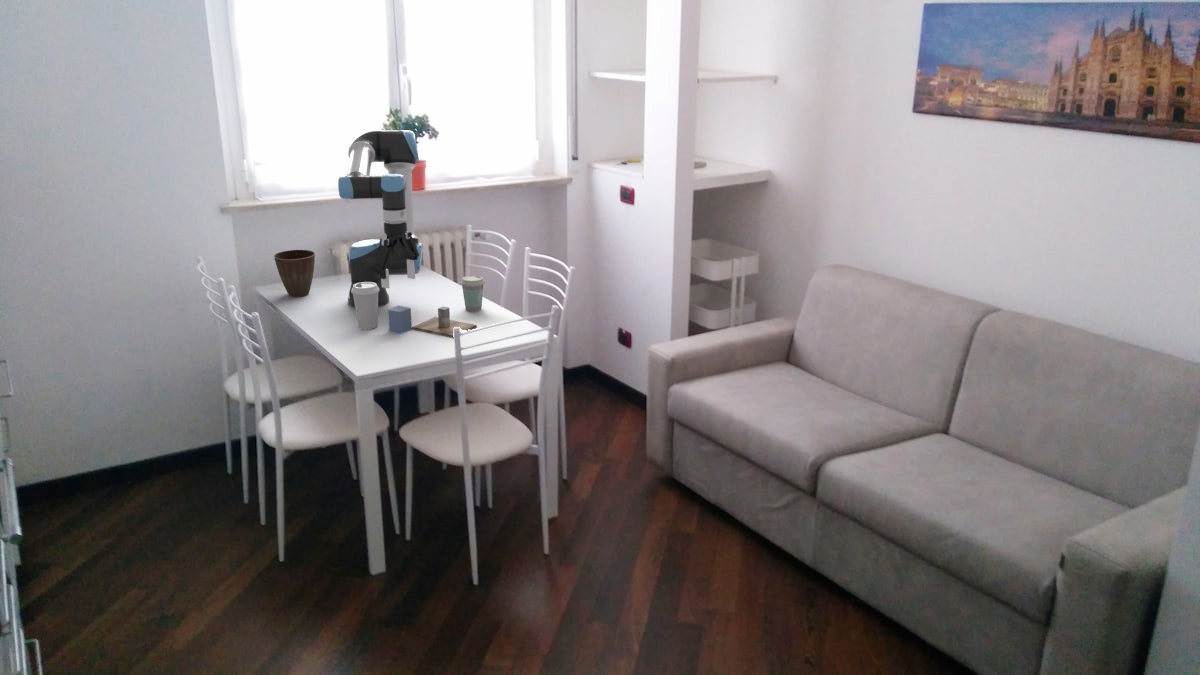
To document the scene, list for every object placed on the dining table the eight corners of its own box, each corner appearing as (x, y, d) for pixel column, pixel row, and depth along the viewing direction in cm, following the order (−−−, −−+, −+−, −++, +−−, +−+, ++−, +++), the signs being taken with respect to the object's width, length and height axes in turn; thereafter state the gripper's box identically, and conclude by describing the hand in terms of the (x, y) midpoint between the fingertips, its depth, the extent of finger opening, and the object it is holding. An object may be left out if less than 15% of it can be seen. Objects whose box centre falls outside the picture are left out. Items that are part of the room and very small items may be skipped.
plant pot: (302, 302, 346) (298, 260, 341) (269, 297, 351) (265, 256, 346) (326, 291, 359) (323, 251, 354) (294, 287, 364) (291, 248, 359)
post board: (412, 329, 318) (411, 308, 316) (435, 318, 329) (434, 299, 327) (454, 337, 310) (453, 317, 308) (476, 327, 321) (475, 307, 319)
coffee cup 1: (358, 321, 325) (355, 280, 320) (385, 322, 325) (382, 281, 320) (350, 330, 316) (347, 288, 311) (378, 331, 316) (375, 289, 311)
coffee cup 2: (480, 313, 336) (479, 282, 332) (458, 311, 338) (457, 280, 334) (488, 306, 344) (487, 275, 340) (466, 305, 345) (465, 274, 342)
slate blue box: (389, 330, 316) (388, 309, 314) (399, 326, 321) (398, 305, 318) (401, 333, 314) (400, 311, 312) (411, 328, 319) (410, 307, 316)
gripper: (379, 229, 293) (383, 293, 300) (427, 216, 314) (430, 275, 321) (360, 227, 296) (365, 290, 303) (409, 213, 317) (413, 273, 324)
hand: (398, 282), depth 312 cm, fingers open, 13 cm apart
